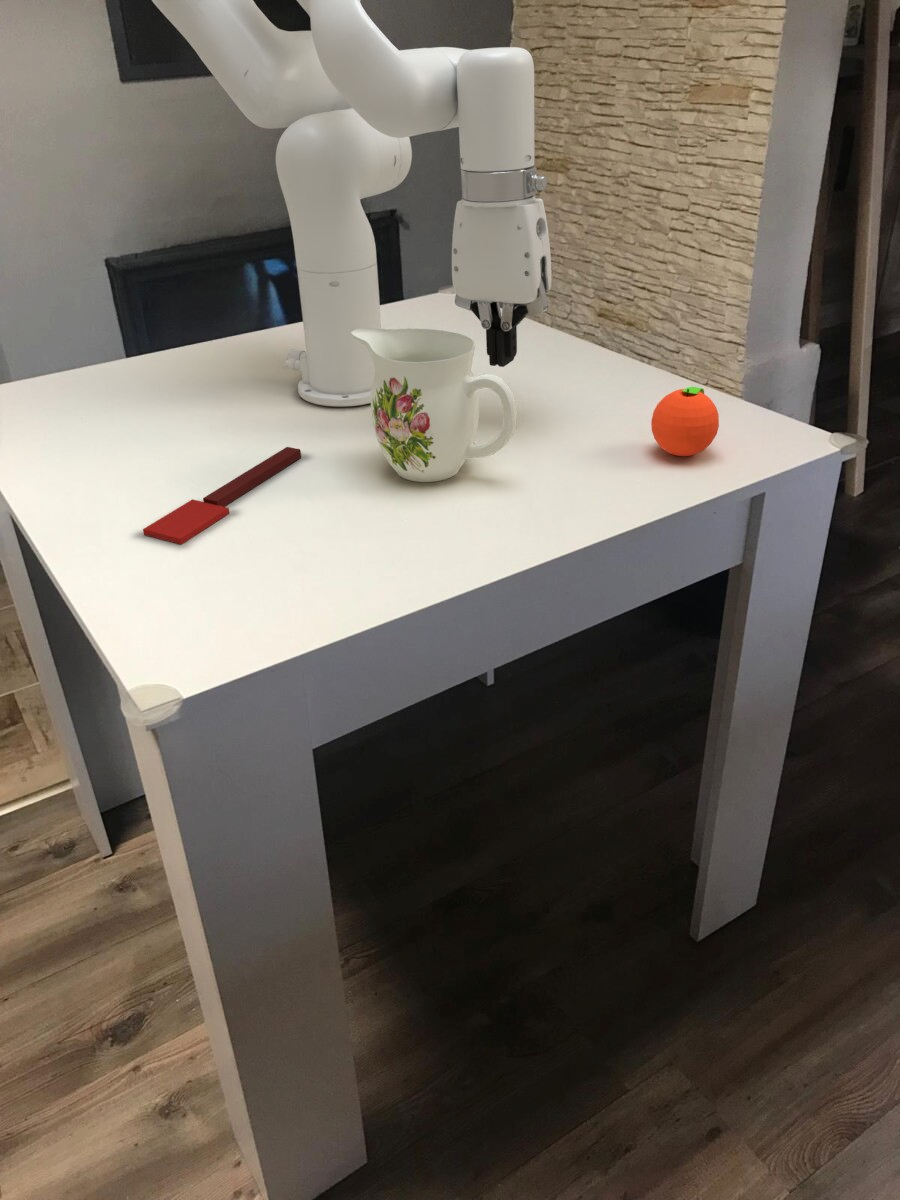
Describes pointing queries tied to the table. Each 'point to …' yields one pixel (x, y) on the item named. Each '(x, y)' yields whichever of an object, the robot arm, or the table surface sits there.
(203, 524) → the spatula
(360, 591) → the table surface
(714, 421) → the clementine
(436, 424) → the pitcher
